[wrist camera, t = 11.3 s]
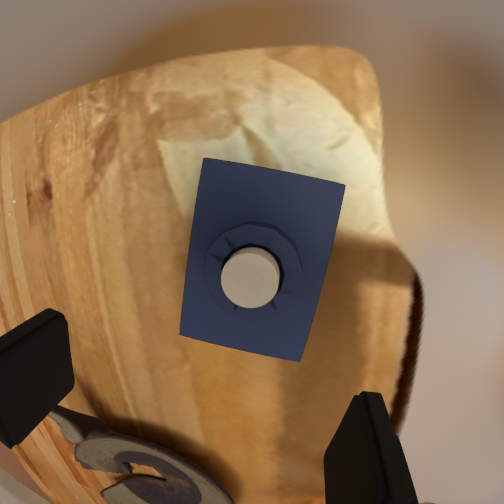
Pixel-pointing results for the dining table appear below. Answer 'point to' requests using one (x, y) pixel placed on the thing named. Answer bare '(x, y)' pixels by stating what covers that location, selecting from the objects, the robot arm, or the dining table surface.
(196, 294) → the button housing
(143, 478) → the oil lamp
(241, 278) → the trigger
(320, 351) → the dining table surface
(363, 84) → the dining table surface
